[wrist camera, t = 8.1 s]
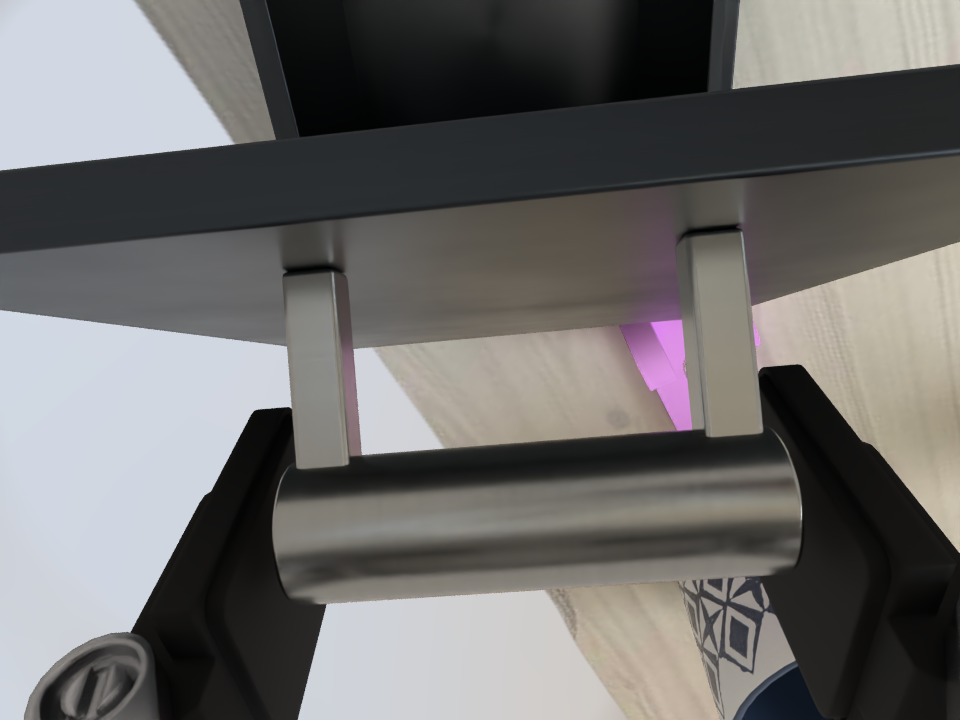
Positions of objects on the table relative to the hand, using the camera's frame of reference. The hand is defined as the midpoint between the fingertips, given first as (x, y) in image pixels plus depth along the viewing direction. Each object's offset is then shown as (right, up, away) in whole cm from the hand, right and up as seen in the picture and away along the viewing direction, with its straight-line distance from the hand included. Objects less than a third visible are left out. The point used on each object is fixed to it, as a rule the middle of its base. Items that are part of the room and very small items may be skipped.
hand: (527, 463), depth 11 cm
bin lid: (0, +4, +4) cm, 6 cm away
